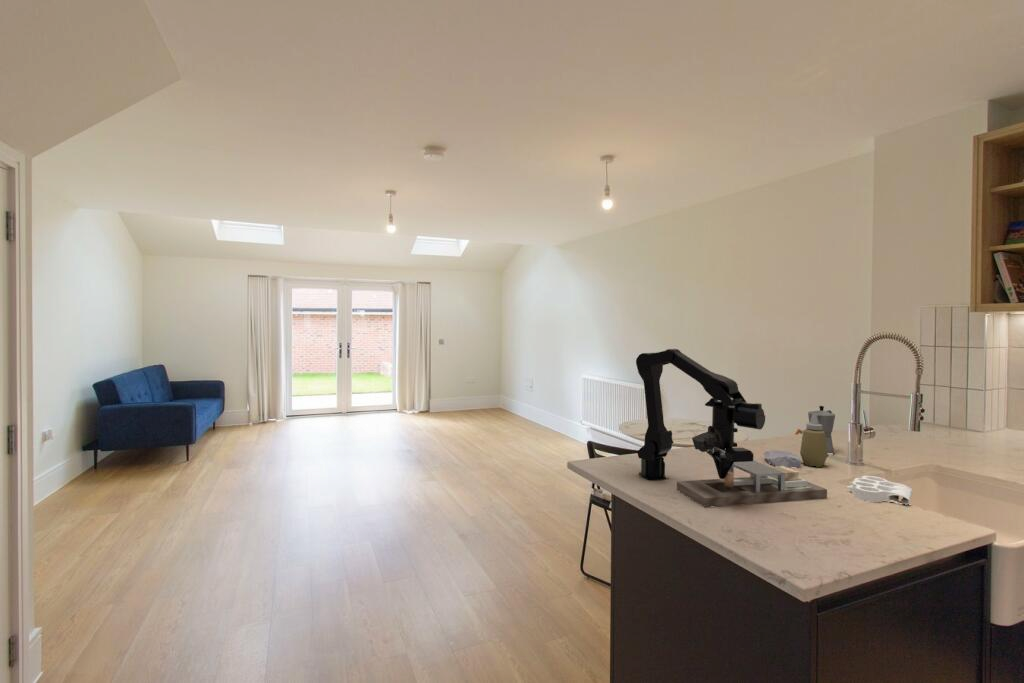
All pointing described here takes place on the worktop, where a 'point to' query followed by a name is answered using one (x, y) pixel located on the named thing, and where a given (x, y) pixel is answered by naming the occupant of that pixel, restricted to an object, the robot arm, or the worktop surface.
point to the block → (787, 474)
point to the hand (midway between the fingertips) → (721, 478)
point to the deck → (745, 492)
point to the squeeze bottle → (813, 444)
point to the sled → (731, 482)
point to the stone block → (782, 458)
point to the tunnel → (759, 473)
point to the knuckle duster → (879, 490)
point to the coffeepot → (825, 425)
